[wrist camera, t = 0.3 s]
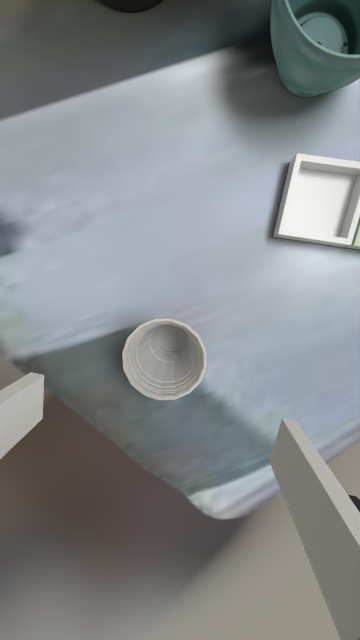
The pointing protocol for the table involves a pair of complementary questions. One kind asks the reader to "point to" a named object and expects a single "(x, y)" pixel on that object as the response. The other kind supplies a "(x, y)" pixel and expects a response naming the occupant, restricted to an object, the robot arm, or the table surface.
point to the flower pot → (316, 44)
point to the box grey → (320, 201)
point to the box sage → (355, 238)
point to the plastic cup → (164, 359)
